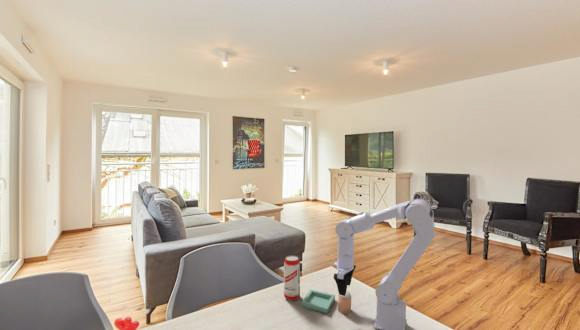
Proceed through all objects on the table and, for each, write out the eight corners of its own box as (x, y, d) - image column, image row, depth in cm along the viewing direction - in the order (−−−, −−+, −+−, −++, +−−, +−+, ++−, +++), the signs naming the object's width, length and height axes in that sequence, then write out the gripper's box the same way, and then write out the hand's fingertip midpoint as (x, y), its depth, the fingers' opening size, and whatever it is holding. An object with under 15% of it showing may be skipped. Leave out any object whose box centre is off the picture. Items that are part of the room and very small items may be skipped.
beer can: (298, 302, 106) (298, 261, 105) (282, 300, 107) (282, 260, 106) (301, 293, 112) (301, 255, 111) (285, 292, 113) (285, 254, 112)
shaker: (352, 308, 102) (352, 292, 102) (349, 315, 98) (349, 298, 98) (339, 305, 104) (340, 289, 104) (336, 312, 100) (337, 295, 99)
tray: (334, 300, 108) (334, 295, 108) (327, 314, 99) (327, 309, 98) (310, 294, 112) (310, 289, 112) (301, 307, 103) (301, 302, 103)
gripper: (339, 244, 108) (338, 278, 109) (328, 258, 95) (328, 296, 96) (357, 247, 105) (357, 282, 106) (349, 262, 92) (348, 301, 93)
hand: (344, 289), depth 101 cm, fingers open, 7 cm apart
